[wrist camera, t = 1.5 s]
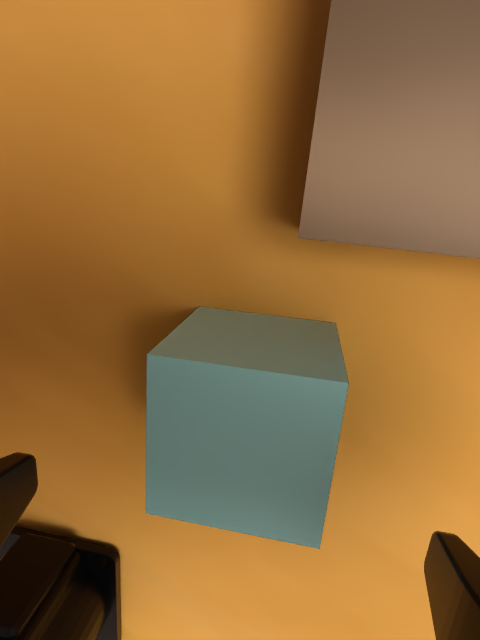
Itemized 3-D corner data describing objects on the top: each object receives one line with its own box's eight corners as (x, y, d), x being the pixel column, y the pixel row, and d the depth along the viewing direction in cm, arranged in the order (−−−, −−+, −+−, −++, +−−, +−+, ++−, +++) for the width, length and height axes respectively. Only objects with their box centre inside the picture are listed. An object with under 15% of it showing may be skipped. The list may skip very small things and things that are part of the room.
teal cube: (316, 442, 15) (319, 548, 11) (194, 422, 16) (145, 513, 11) (335, 322, 14) (348, 383, 9) (200, 306, 14) (146, 354, 10)
